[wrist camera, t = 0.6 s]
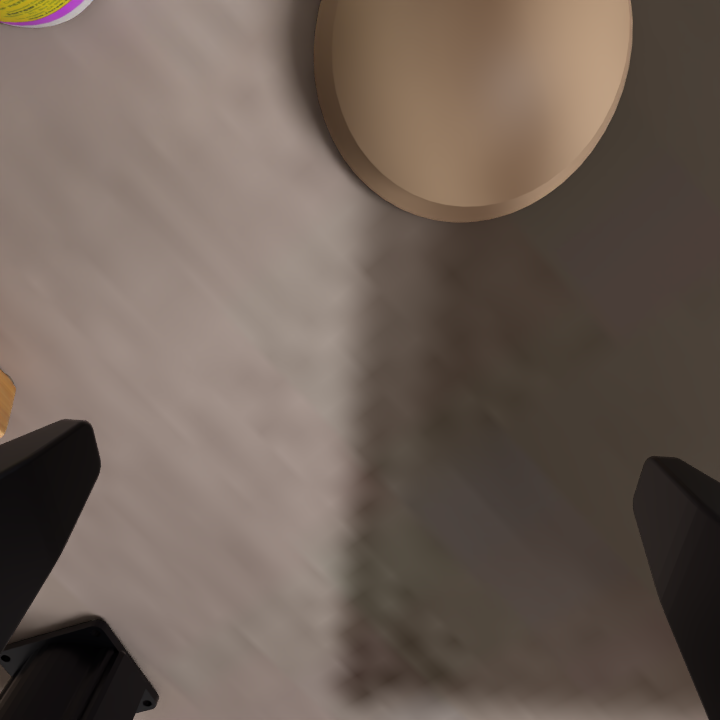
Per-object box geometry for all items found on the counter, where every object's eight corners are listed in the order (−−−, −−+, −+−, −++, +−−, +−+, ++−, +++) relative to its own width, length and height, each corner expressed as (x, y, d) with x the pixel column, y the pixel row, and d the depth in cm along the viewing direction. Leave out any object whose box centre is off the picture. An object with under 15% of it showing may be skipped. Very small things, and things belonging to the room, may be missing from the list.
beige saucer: (376, 259, 21) (376, 270, 19) (266, -44, 17) (253, -66, 15) (648, 159, 19) (678, 160, 18) (589, -196, 16) (618, -241, 14)
